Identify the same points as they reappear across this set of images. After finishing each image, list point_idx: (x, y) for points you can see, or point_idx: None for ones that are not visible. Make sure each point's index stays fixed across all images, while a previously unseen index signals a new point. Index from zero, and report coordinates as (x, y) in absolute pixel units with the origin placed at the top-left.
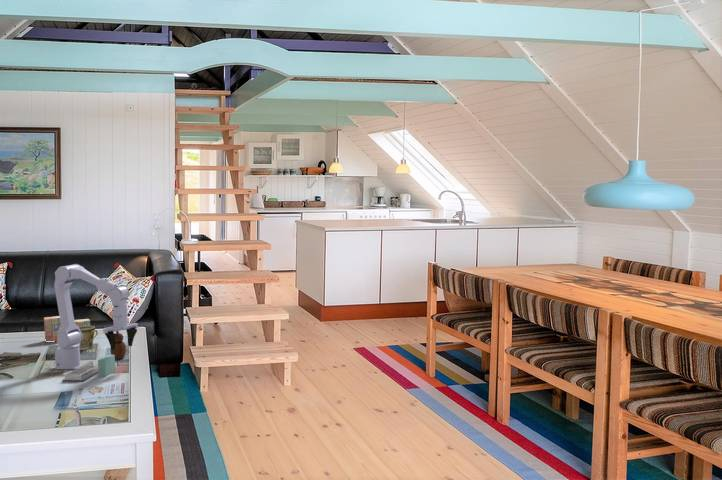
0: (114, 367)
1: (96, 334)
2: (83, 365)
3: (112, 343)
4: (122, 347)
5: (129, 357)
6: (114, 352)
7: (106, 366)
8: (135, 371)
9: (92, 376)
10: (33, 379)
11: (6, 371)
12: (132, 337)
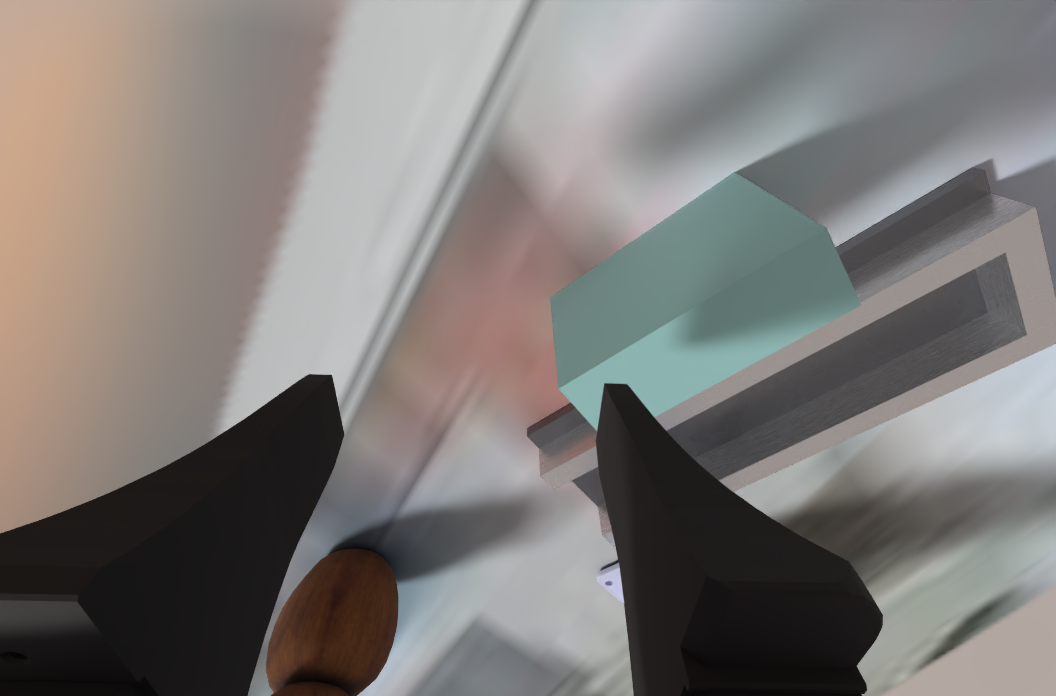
0: (565, 305)
1: None
2: None
3: (676, 444)
4: (310, 620)
5: None
6: (382, 601)
7: (749, 217)
8: (420, 116)
9: None
10: (1007, 507)
11: (893, 687)
12: (220, 458)
